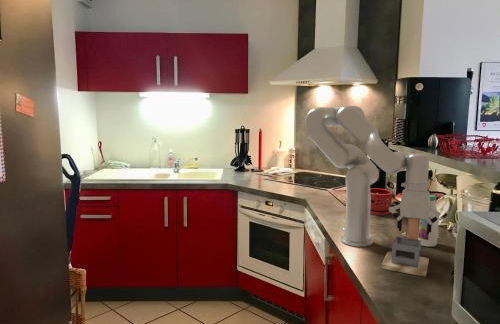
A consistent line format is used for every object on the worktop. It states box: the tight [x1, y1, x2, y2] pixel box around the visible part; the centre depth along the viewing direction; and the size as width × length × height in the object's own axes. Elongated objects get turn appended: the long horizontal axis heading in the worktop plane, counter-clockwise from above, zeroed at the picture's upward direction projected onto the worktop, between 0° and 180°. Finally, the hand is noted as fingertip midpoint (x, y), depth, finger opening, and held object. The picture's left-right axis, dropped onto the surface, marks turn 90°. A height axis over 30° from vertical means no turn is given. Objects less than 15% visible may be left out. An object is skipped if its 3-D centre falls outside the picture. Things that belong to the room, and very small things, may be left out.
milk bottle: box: [418, 194, 440, 247], centre depth 161 cm, size 8×8×20 cm
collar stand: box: [380, 236, 430, 277], centre depth 139 cm, size 14×14×8 cm
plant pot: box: [370, 187, 393, 216], centre depth 206 cm, size 13×13×12 cm
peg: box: [406, 218, 420, 240], centre depth 150 cm, size 4×4×16 cm
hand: (413, 232), depth 150 cm, fingers open, 9 cm apart
